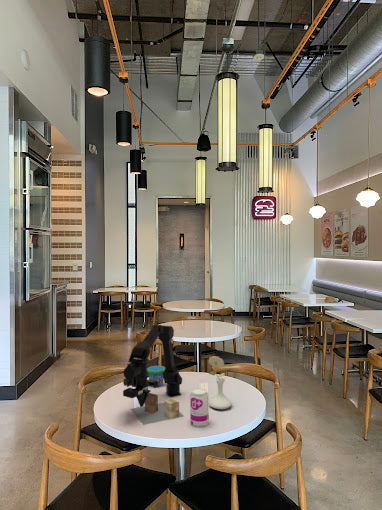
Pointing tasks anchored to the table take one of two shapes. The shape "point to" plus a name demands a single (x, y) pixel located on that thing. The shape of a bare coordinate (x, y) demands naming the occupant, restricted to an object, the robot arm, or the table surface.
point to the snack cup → (156, 374)
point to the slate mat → (152, 418)
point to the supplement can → (199, 408)
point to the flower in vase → (219, 386)
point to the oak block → (171, 408)
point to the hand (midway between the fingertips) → (141, 406)
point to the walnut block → (151, 403)
